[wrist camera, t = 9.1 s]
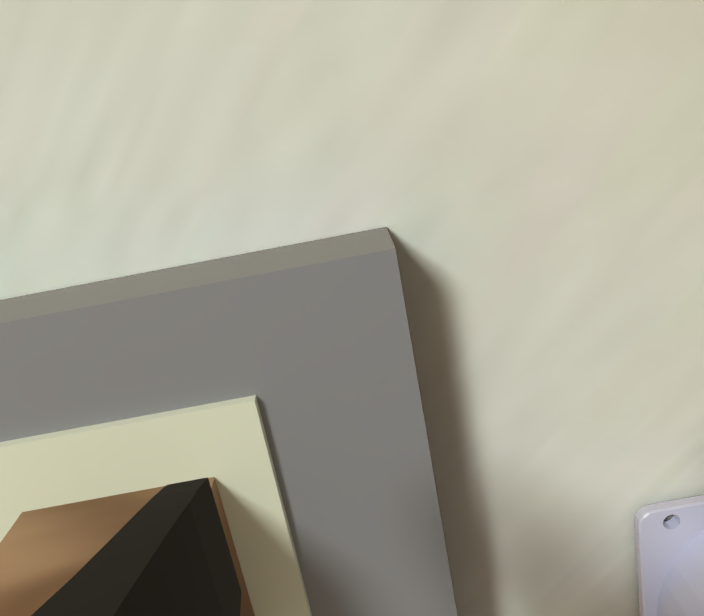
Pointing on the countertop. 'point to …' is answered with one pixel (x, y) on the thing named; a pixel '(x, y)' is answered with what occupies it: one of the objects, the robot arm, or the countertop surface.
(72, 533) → the walnut cube
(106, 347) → the slate board
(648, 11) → the countertop surface
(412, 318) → the countertop surface
